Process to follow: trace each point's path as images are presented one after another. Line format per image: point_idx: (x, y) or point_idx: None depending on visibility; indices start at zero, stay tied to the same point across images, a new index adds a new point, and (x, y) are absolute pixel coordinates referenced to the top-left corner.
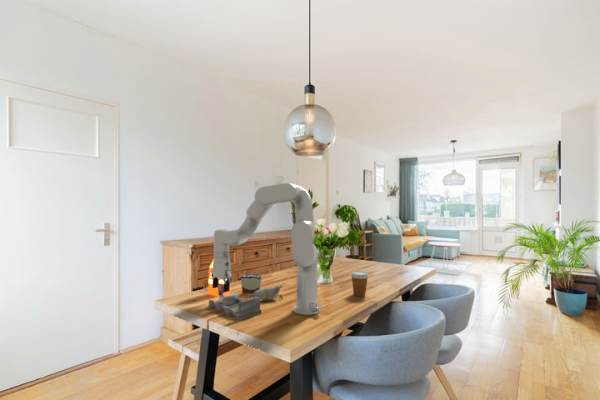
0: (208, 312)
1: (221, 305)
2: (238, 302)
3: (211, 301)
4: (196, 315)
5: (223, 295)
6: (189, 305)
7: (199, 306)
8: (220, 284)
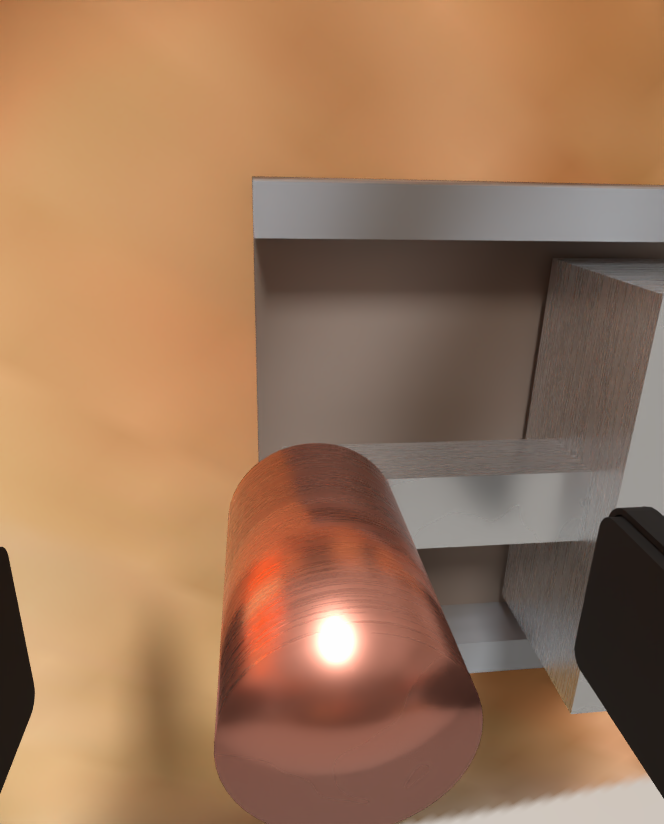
0: None
1: None
2: (648, 243)
3: None
4: (446, 814)
5: (438, 523)
6: (9, 772)
7: (155, 695)
8: (380, 780)
